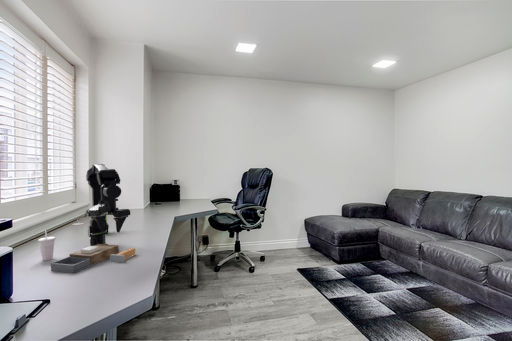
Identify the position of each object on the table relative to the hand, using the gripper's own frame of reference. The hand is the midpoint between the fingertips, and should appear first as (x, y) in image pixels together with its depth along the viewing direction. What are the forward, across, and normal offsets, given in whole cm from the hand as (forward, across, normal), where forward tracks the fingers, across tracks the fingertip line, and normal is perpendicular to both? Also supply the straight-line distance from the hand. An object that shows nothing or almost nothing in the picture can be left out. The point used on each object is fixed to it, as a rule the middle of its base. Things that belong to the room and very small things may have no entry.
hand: (110, 231), depth 116 cm
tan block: (+13, -10, 0) cm, 16 cm away
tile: (+9, -10, -2) cm, 13 cm away
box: (+13, -10, -11) cm, 19 cm away
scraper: (+13, +4, +4) cm, 14 cm away
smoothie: (+13, -32, -6) cm, 35 cm away
